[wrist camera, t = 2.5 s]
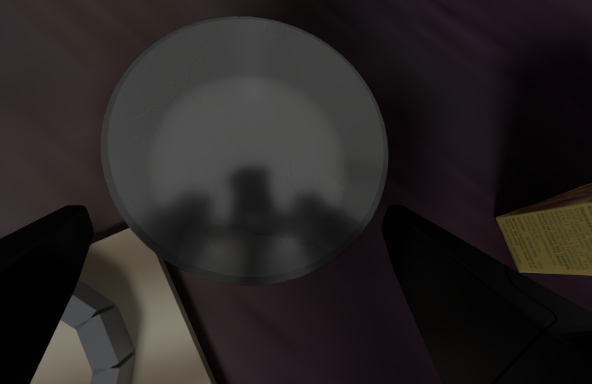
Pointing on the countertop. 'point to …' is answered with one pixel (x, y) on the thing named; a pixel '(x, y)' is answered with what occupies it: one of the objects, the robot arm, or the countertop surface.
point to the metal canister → (244, 150)
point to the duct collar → (101, 335)
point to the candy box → (552, 234)
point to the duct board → (132, 319)
